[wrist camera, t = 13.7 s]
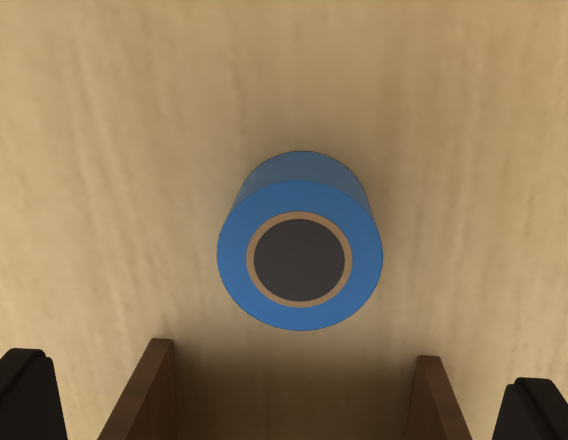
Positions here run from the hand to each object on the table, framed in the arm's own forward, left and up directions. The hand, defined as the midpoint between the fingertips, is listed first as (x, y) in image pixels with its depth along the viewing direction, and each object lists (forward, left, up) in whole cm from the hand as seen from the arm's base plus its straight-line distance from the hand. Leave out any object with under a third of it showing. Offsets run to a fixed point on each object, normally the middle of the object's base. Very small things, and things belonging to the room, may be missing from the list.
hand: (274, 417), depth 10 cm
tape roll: (+1, 0, -14) cm, 14 cm away
